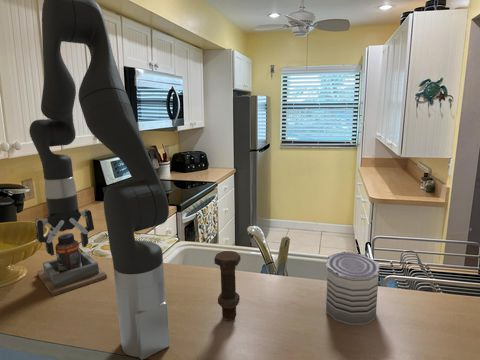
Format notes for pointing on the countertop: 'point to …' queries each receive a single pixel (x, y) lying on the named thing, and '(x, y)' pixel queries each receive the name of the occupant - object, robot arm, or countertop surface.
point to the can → (352, 288)
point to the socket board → (70, 275)
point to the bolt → (228, 283)
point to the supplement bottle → (67, 253)
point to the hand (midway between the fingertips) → (68, 250)
